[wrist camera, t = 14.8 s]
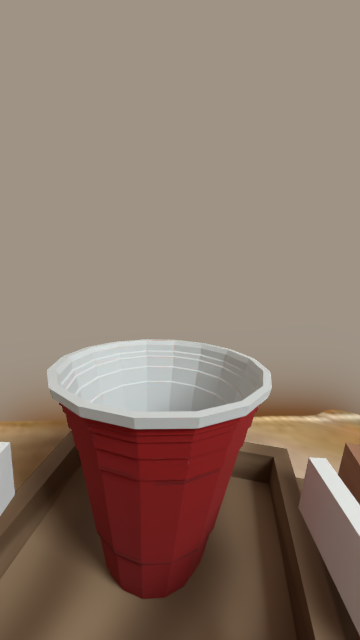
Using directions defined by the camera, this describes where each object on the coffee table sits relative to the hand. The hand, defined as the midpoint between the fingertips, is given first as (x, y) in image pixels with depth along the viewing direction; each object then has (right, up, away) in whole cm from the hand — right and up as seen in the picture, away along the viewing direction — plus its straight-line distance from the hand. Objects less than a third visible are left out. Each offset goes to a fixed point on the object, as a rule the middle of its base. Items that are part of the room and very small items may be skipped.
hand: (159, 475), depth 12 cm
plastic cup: (-1, -7, +5) cm, 8 cm away
